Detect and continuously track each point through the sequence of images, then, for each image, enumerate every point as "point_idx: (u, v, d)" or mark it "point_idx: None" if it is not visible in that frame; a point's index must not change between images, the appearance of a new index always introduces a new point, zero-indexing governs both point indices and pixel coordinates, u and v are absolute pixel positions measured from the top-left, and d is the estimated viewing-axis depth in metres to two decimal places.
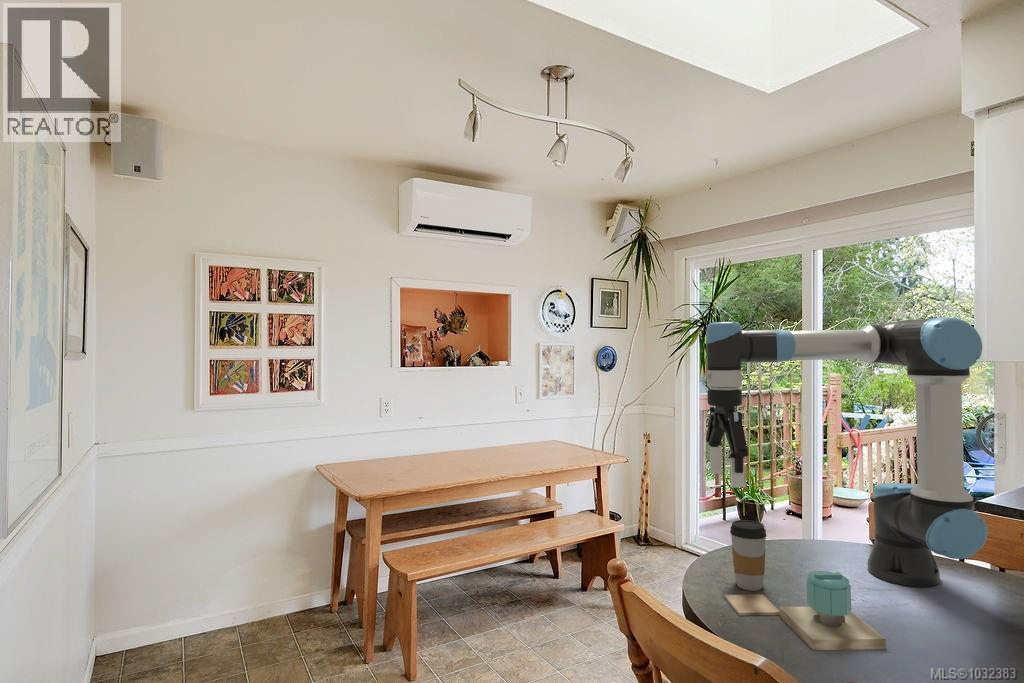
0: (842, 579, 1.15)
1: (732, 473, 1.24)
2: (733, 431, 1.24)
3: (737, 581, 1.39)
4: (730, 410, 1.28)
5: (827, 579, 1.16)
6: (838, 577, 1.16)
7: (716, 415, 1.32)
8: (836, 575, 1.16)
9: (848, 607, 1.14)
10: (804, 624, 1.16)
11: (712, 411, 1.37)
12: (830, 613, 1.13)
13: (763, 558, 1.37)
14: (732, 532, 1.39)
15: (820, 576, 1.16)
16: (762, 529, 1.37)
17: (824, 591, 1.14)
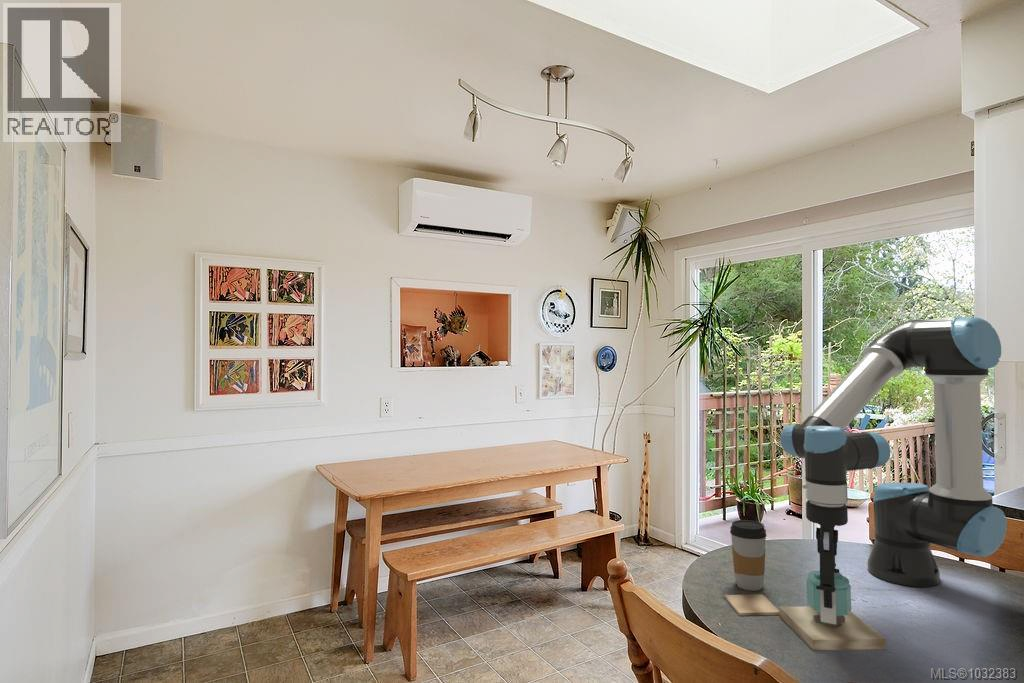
0: (842, 579, 1.15)
1: (821, 606, 1.13)
2: (820, 561, 1.11)
3: (737, 581, 1.39)
4: (826, 530, 1.13)
5: None
6: (838, 577, 1.16)
7: (817, 530, 1.18)
8: (836, 575, 1.16)
9: (848, 607, 1.14)
10: (804, 624, 1.16)
11: None
12: None
13: (763, 558, 1.37)
14: (732, 532, 1.39)
15: None
16: (762, 529, 1.37)
17: None
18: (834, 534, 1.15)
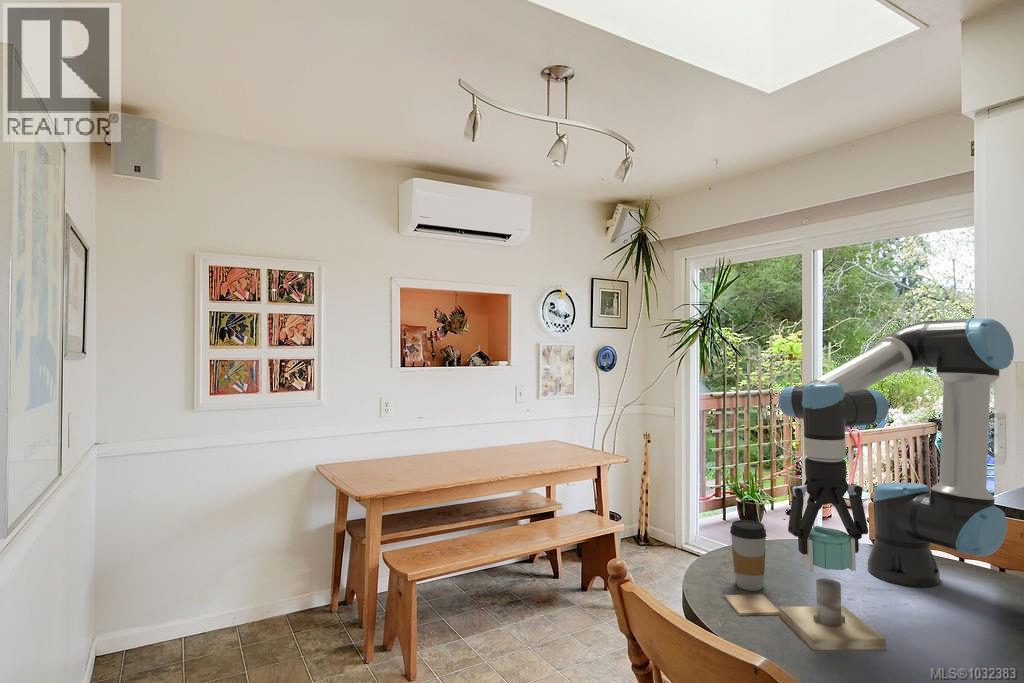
0: (836, 537, 1.14)
1: None
2: (791, 506, 1.18)
3: (737, 581, 1.39)
4: (807, 481, 1.17)
5: (821, 533, 1.17)
6: (834, 535, 1.15)
7: None
8: (833, 532, 1.15)
9: (832, 563, 1.13)
10: (804, 624, 1.16)
11: None
12: None
13: (763, 558, 1.37)
14: (732, 532, 1.39)
15: (817, 528, 1.18)
16: (762, 529, 1.37)
17: None
18: (821, 488, 1.15)
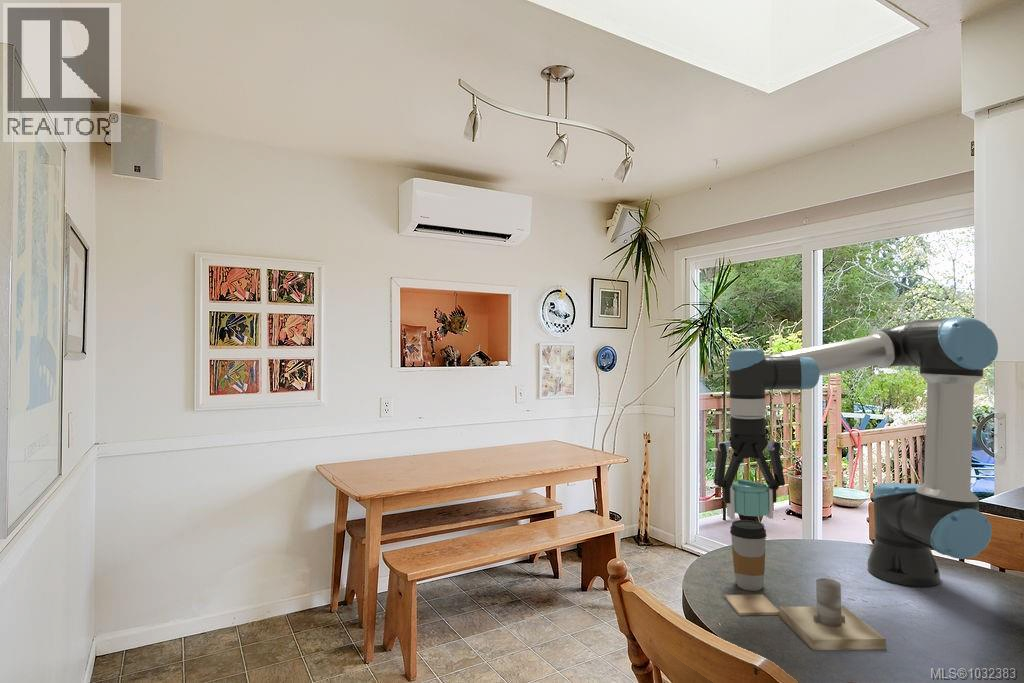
0: (755, 487, 1.26)
1: (727, 502, 1.30)
2: (717, 460, 1.30)
3: (737, 581, 1.39)
4: (731, 437, 1.29)
5: (743, 484, 1.29)
6: (754, 485, 1.27)
7: None
8: (753, 483, 1.27)
9: (750, 510, 1.25)
10: (804, 624, 1.16)
11: None
12: None
13: (763, 558, 1.37)
14: (732, 532, 1.39)
15: (740, 481, 1.30)
16: (762, 529, 1.37)
17: None
18: (743, 443, 1.27)
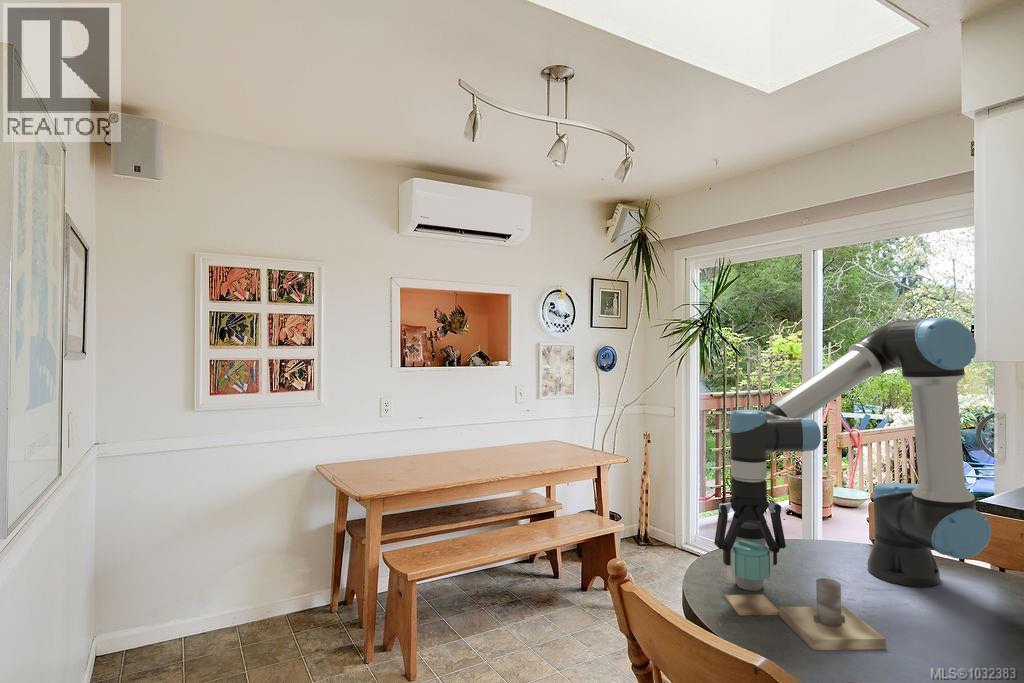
0: (756, 550, 1.26)
1: None
2: None
3: (737, 581, 1.39)
4: (732, 499, 1.29)
5: (744, 546, 1.29)
6: (755, 548, 1.27)
7: None
8: (753, 546, 1.27)
9: (751, 574, 1.25)
10: (804, 624, 1.16)
11: None
12: None
13: None
14: None
15: (741, 542, 1.30)
16: None
17: None
18: (744, 506, 1.27)
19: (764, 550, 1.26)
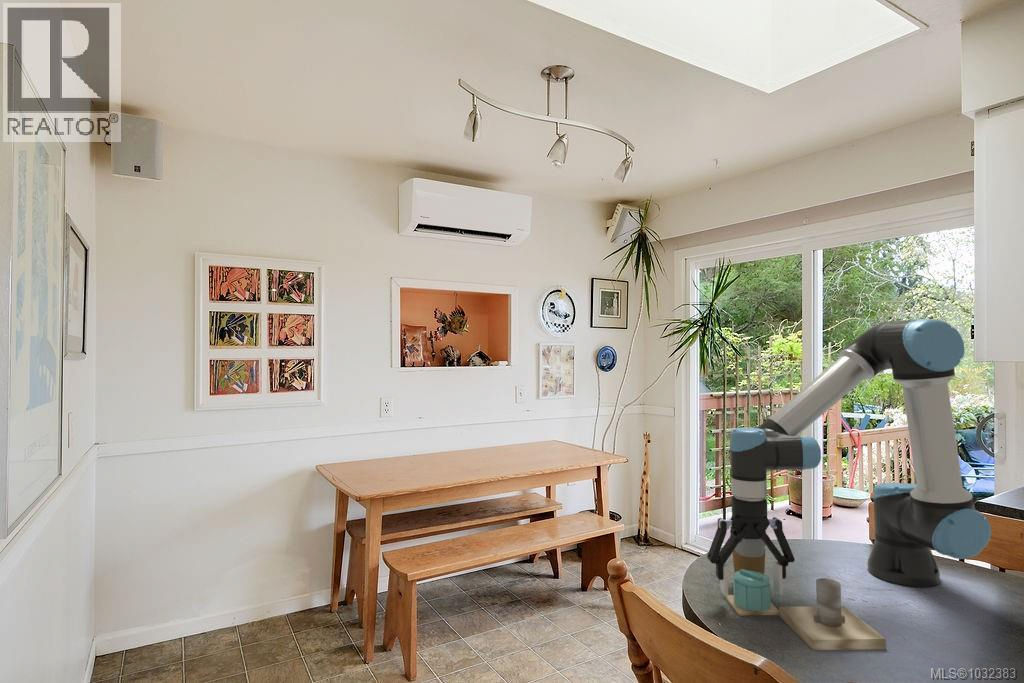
0: (757, 581, 1.26)
1: None
2: (714, 536, 1.30)
3: None
4: (733, 517, 1.29)
5: (745, 576, 1.29)
6: (756, 578, 1.27)
7: None
8: (755, 576, 1.27)
9: (752, 605, 1.25)
10: (804, 624, 1.16)
11: None
12: (735, 602, 1.28)
13: (763, 558, 1.37)
14: None
15: (742, 572, 1.30)
16: None
17: (734, 582, 1.29)
18: (745, 524, 1.27)
19: (765, 580, 1.26)
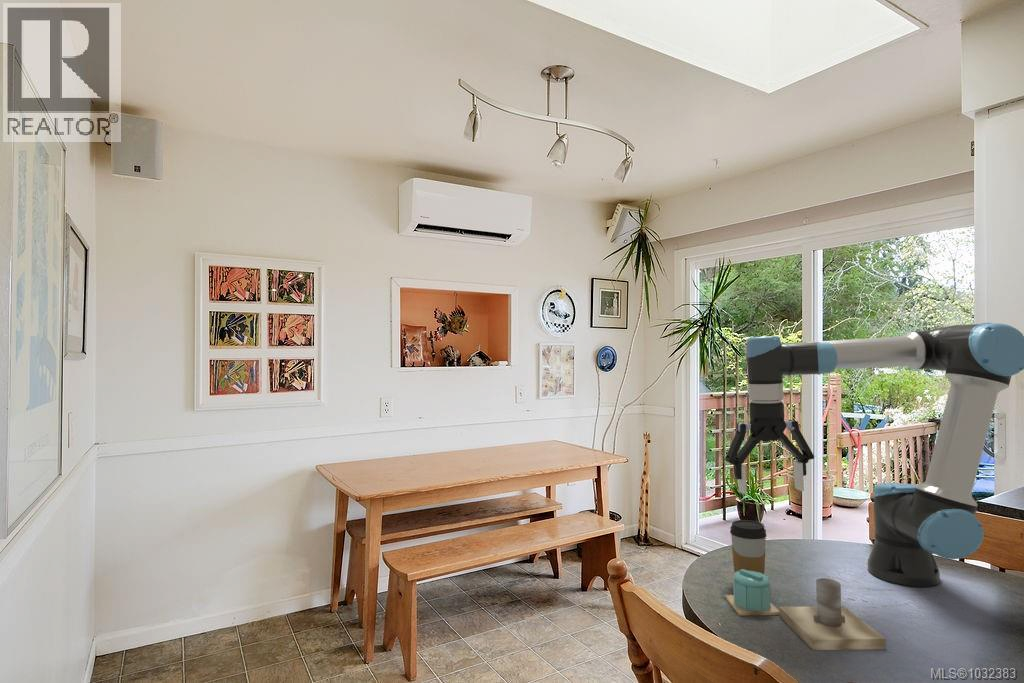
0: (757, 581, 1.26)
1: (738, 478, 1.35)
2: (733, 439, 1.35)
3: None
4: (751, 422, 1.34)
5: (745, 576, 1.29)
6: (756, 578, 1.27)
7: None
8: (755, 576, 1.27)
9: (752, 605, 1.25)
10: (804, 624, 1.16)
11: None
12: (735, 602, 1.28)
13: (763, 558, 1.37)
14: (732, 532, 1.39)
15: (742, 572, 1.30)
16: (762, 529, 1.37)
17: (734, 582, 1.29)
18: (764, 427, 1.33)
19: (765, 580, 1.26)
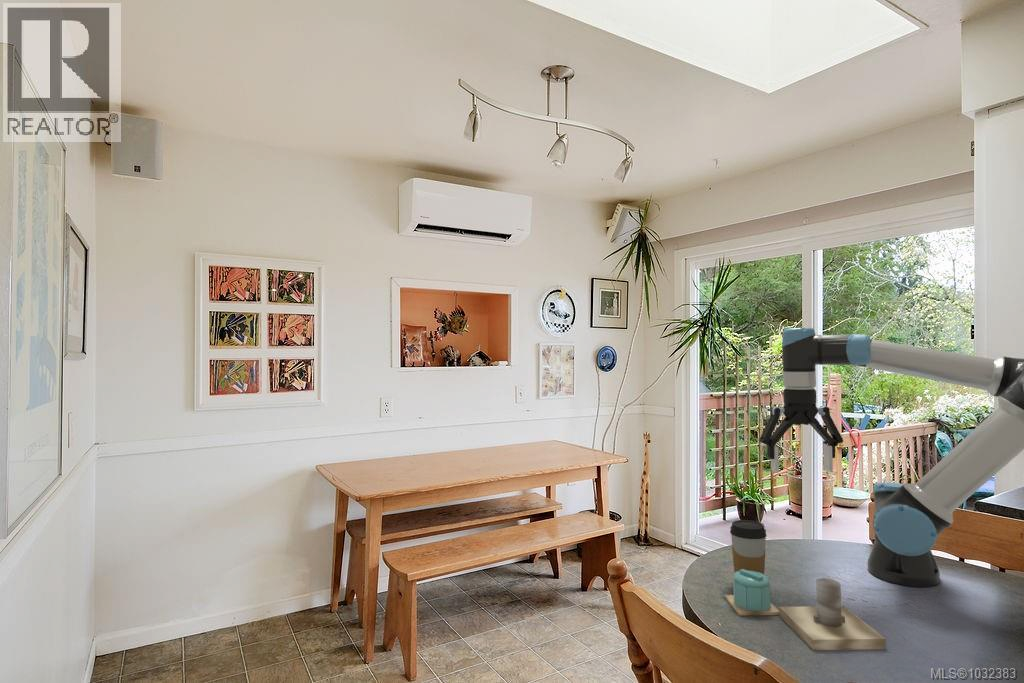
0: (757, 581, 1.26)
1: (771, 458, 1.46)
2: (767, 422, 1.46)
3: None
4: (785, 406, 1.45)
5: (745, 576, 1.29)
6: (756, 578, 1.27)
7: None
8: (755, 576, 1.27)
9: (752, 605, 1.25)
10: (804, 624, 1.16)
11: None
12: (735, 602, 1.28)
13: (763, 558, 1.37)
14: (732, 532, 1.39)
15: (742, 572, 1.30)
16: (762, 529, 1.37)
17: (734, 582, 1.29)
18: (796, 411, 1.44)
19: (765, 580, 1.26)
